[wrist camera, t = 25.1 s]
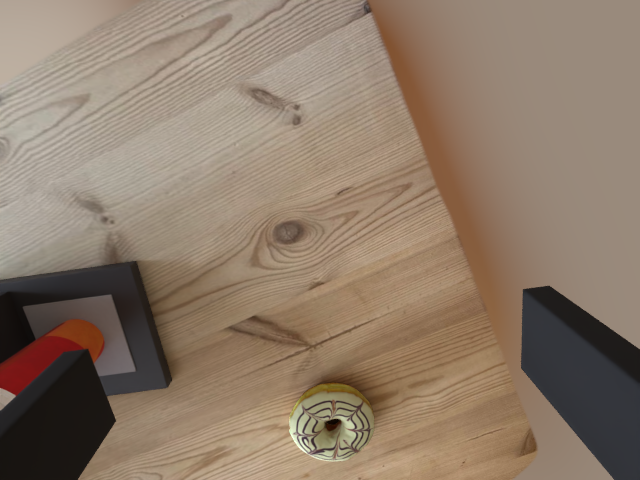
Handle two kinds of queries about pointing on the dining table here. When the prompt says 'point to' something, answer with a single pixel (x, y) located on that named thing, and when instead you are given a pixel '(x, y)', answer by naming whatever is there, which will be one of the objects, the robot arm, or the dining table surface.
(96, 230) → the dining table surface
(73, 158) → the dining table surface
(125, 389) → the coffee maker
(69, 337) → the paper cup
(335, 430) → the decorated donut
